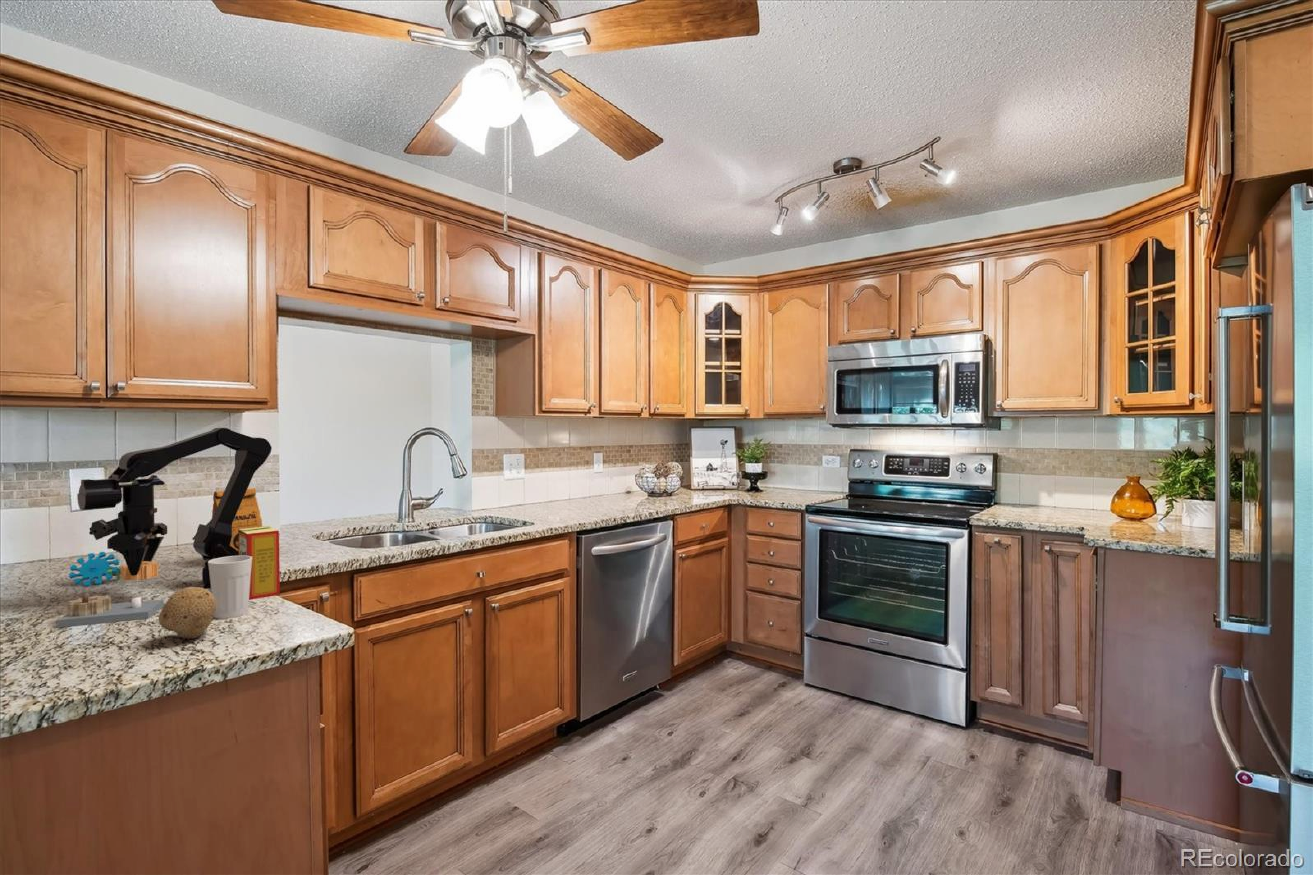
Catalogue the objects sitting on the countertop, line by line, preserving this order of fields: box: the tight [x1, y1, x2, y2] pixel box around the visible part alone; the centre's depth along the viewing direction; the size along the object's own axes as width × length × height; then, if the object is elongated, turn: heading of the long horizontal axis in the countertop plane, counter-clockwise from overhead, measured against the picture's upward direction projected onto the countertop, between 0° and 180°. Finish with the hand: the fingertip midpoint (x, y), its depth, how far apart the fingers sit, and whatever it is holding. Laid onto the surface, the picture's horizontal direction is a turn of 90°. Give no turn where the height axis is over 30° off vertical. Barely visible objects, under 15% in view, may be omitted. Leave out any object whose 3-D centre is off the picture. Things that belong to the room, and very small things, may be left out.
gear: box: [68, 551, 122, 587], centre depth 165 cm, size 11×6×10 cm
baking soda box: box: [238, 525, 281, 601], centre depth 154 cm, size 10×6×16 cm
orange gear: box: [119, 560, 160, 582], centre depth 148 cm, size 7×7×3 cm
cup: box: [208, 556, 252, 619], centre depth 137 cm, size 8×8×12 cm
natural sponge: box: [158, 586, 217, 639], centre depth 122 cm, size 9×9×10 cm
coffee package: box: [211, 487, 263, 551], centre depth 185 cm, size 10×12×22 cm
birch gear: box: [67, 591, 112, 616], centre depth 134 cm, size 7×7×4 cm
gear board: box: [56, 596, 165, 628], centre depth 136 cm, size 15×10×4 cm, turn 113°
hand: (139, 571), depth 148 cm, fingers closed on orange gear, 7 cm apart
